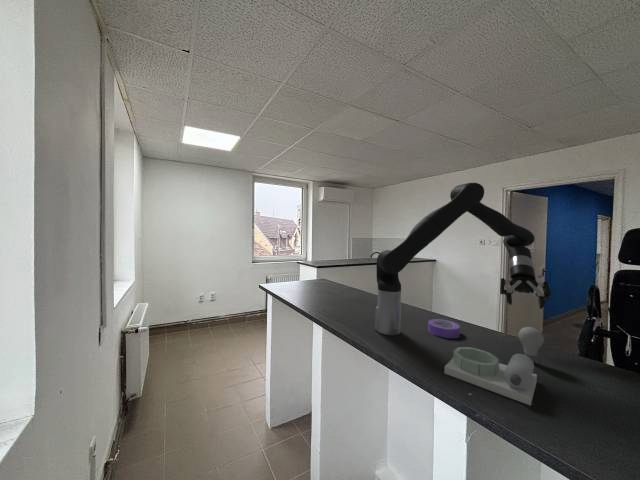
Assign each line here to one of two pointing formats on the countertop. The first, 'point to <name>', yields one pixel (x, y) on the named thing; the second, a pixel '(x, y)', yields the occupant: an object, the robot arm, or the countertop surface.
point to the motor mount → (495, 373)
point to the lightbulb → (531, 341)
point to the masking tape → (444, 328)
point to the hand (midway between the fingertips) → (525, 305)
